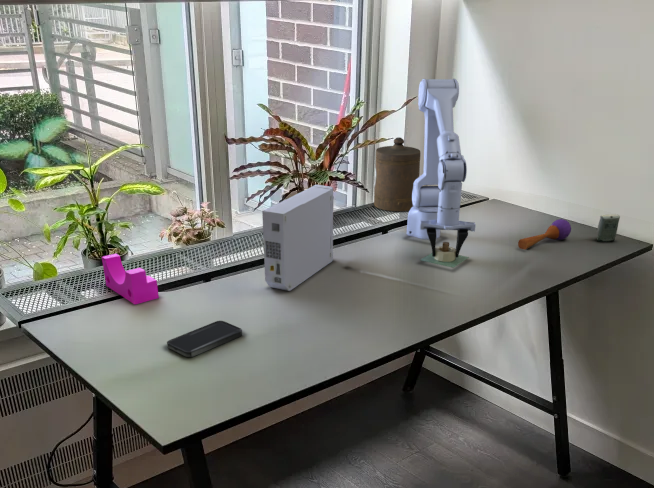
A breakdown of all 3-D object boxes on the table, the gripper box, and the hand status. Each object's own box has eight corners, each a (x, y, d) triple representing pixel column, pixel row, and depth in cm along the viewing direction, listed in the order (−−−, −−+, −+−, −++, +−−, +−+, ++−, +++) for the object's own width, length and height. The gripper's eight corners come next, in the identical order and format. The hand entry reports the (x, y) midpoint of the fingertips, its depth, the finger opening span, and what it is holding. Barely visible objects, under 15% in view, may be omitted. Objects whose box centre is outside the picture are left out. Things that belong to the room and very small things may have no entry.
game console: (335, 260, 199) (335, 187, 189) (286, 294, 177) (284, 214, 167) (316, 257, 201) (315, 184, 191) (265, 290, 179) (262, 210, 169)
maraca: (513, 233, 209) (558, 216, 219) (515, 253, 211) (559, 235, 221) (530, 235, 204) (574, 217, 214) (531, 255, 207) (575, 237, 217)
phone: (244, 329, 157) (188, 353, 147) (244, 334, 157) (189, 358, 147) (219, 319, 161) (164, 341, 151) (220, 324, 162) (164, 346, 152)
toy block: (158, 298, 174) (155, 268, 171) (134, 304, 171) (130, 274, 167) (129, 279, 184) (125, 251, 180) (106, 285, 180) (101, 256, 177)
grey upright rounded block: (606, 245, 214) (611, 218, 210) (591, 240, 217) (596, 214, 213) (617, 241, 217) (622, 214, 213) (602, 236, 220) (607, 210, 216)
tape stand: (419, 263, 198) (420, 244, 195) (436, 253, 205) (437, 234, 202) (452, 271, 193) (454, 251, 190) (468, 260, 200) (470, 241, 198)
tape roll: (430, 259, 198) (431, 250, 197) (440, 253, 202) (440, 244, 201) (449, 263, 195) (450, 254, 194) (458, 257, 199) (459, 248, 198)
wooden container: (394, 197, 255) (397, 131, 244) (426, 206, 246) (431, 138, 235) (364, 205, 246) (366, 137, 235) (397, 214, 237) (400, 144, 226)
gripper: (421, 209, 188) (418, 259, 195) (478, 211, 188) (473, 261, 194) (420, 202, 194) (417, 251, 201) (475, 203, 194) (470, 252, 201)
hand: (444, 255), depth 198 cm, fingers closed on tape roll, 5 cm apart
